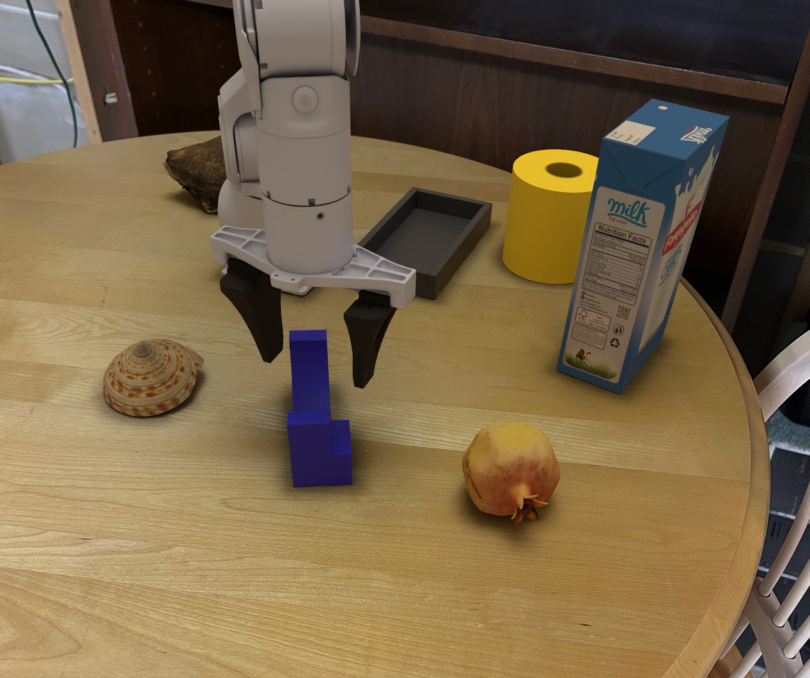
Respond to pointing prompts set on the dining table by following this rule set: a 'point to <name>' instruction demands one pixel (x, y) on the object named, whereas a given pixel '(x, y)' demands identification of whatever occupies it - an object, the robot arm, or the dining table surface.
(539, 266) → the yellow toilet paper roll
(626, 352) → the milk carton
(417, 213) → the holder
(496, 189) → the dining table surface
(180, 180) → the seashell
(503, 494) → the fruit
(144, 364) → the seashell
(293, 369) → the blue piece
